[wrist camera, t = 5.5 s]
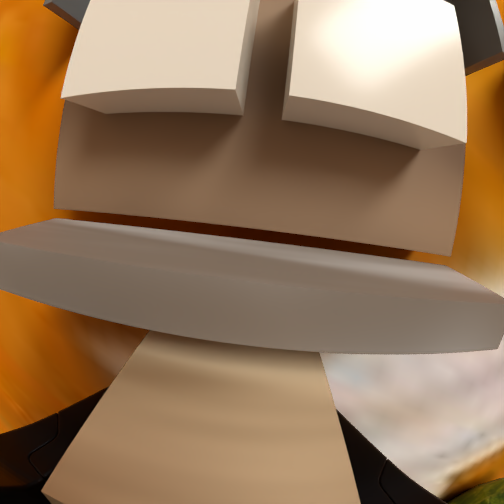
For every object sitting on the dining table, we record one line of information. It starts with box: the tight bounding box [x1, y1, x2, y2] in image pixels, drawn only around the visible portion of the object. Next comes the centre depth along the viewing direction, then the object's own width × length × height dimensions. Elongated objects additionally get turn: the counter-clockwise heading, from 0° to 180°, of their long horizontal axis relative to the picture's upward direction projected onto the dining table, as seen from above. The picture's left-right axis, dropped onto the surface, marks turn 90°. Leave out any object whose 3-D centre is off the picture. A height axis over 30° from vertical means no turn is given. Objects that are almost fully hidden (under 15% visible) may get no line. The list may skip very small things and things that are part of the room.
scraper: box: [0, 218, 504, 504], centre depth 5 cm, size 6×13×7 cm, turn 83°
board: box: [54, 0, 465, 257], centre depth 9 cm, size 8×14×2 cm, turn 83°
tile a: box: [282, 0, 467, 150], centre depth 6 cm, size 4×4×2 cm
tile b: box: [61, 0, 260, 115], centre depth 6 cm, size 4×4×2 cm
